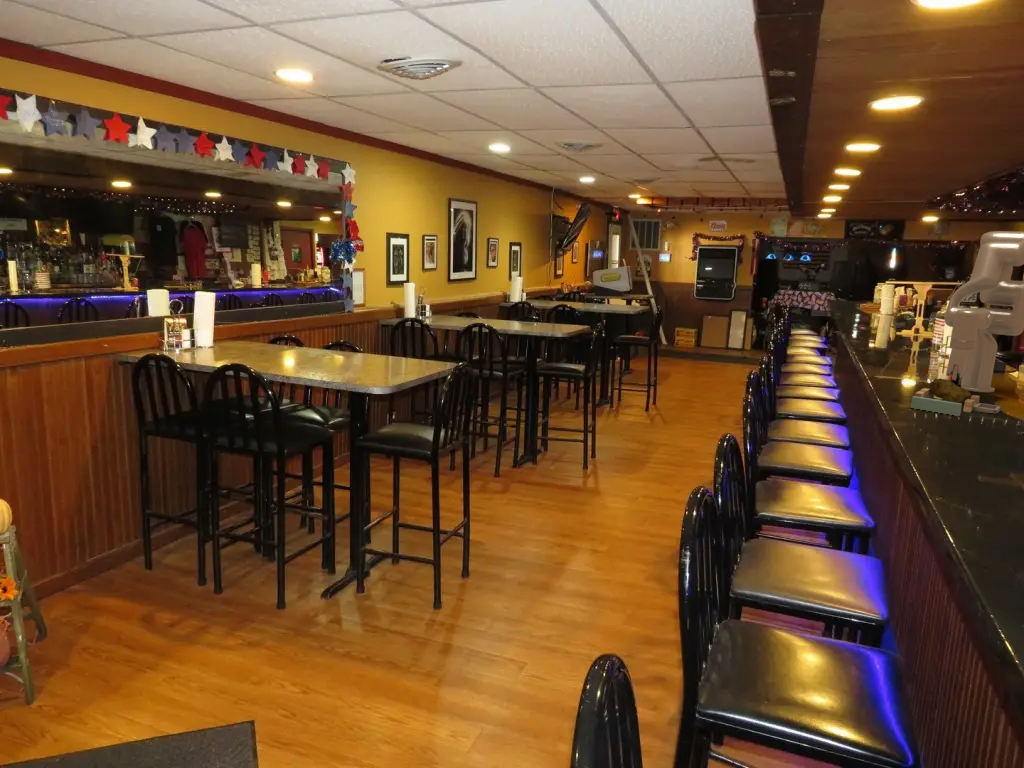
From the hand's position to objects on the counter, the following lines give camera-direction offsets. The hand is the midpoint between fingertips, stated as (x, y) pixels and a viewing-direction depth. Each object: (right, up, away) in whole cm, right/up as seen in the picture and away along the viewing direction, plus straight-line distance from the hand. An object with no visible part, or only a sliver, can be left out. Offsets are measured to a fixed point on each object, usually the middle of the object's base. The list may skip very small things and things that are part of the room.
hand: (953, 395), depth 249 cm
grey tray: (+1, -5, -16) cm, 17 cm away
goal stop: (-19, -5, -20) cm, 28 cm away
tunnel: (-8, -3, -9) cm, 12 cm away
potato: (-5, -3, -4) cm, 7 cm away
